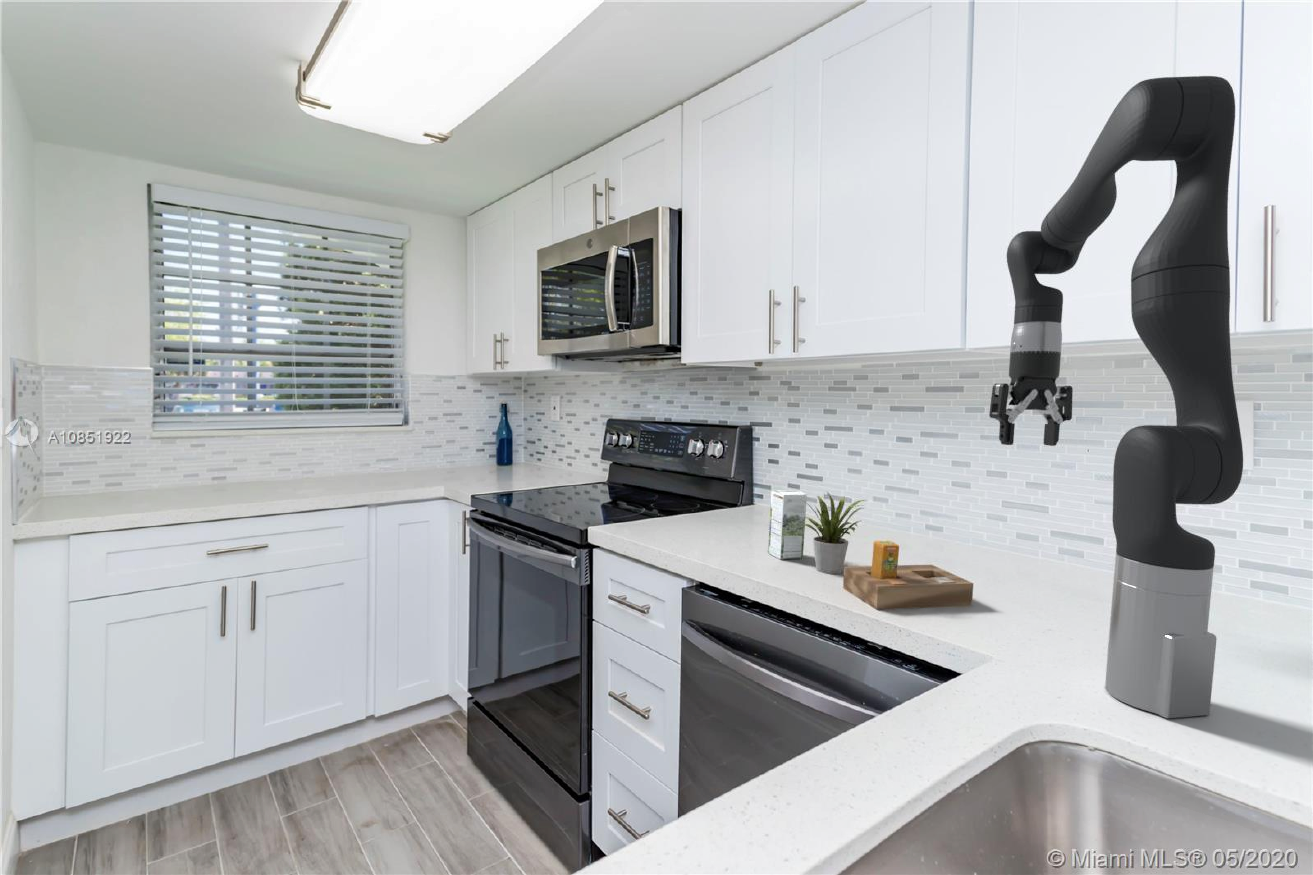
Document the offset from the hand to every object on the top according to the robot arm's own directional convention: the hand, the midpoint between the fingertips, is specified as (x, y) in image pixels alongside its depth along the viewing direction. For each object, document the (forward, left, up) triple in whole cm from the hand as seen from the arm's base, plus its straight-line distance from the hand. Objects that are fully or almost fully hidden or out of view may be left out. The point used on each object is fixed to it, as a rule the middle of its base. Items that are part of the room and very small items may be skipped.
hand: (1028, 445), depth 112 cm
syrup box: (+35, +29, -28) cm, 54 cm away
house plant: (+23, +23, -28) cm, 43 cm away
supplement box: (+6, +22, -28) cm, 37 cm away
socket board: (+6, +18, -28) cm, 34 cm away
